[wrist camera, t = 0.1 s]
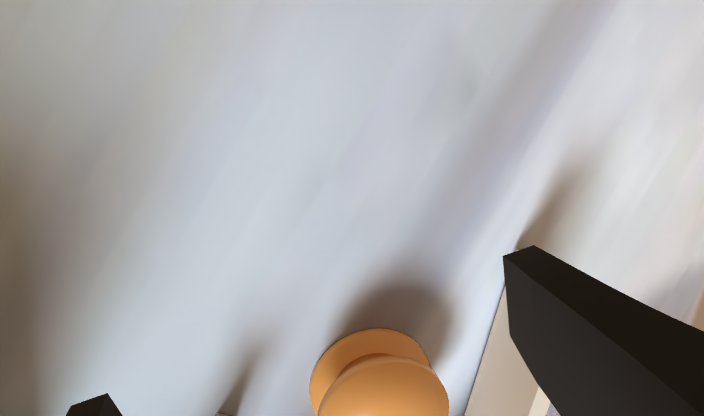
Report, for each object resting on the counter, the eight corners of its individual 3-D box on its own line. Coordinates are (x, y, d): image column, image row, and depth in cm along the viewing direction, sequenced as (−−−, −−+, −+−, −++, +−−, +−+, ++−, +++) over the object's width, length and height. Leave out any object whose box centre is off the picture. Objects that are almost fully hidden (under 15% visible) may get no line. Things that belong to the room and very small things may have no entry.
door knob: (392, 439, 26) (410, 484, 23) (288, 413, 24) (296, 458, 22) (447, 345, 25) (472, 383, 22) (342, 311, 23) (356, 348, 21)
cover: (440, 465, 27) (477, 542, 23) (508, 247, 23) (564, 296, 20) (464, 464, 27) (505, 540, 23) (534, 249, 24) (594, 299, 20)
